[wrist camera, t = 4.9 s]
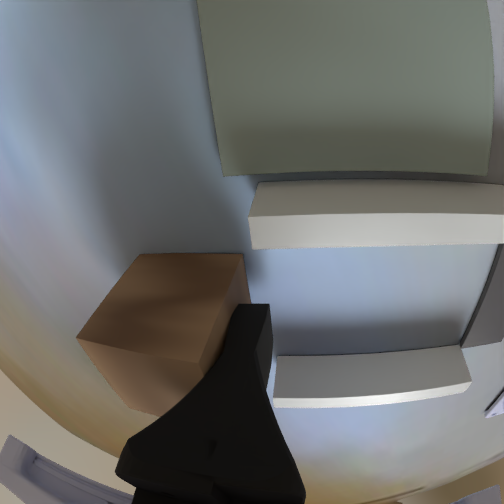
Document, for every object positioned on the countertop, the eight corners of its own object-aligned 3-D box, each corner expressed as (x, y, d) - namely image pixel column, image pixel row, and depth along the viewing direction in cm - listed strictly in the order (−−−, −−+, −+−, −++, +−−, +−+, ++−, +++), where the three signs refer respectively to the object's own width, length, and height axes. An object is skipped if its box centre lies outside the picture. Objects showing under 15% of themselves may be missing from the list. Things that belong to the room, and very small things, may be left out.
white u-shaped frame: (555, 191, 8) (589, 219, 6) (492, 349, 13) (505, 381, 11) (258, 182, 10) (248, 217, 8) (278, 366, 15) (274, 407, 13)
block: (242, 253, 12) (198, 363, 8) (256, 334, 14) (229, 431, 10) (141, 252, 13) (75, 337, 9) (169, 326, 15) (128, 407, 11)
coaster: (462, -61, 4) (469, -65, 3) (479, 170, 8) (487, 176, 8) (192, -73, 5) (186, -79, 5) (227, 170, 10) (223, 176, 9)
